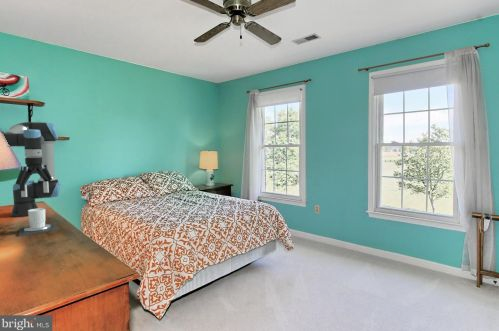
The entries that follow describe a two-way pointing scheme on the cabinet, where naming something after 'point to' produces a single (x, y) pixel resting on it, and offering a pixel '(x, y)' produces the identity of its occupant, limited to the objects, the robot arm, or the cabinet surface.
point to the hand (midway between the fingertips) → (35, 194)
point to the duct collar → (37, 229)
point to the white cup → (36, 218)
